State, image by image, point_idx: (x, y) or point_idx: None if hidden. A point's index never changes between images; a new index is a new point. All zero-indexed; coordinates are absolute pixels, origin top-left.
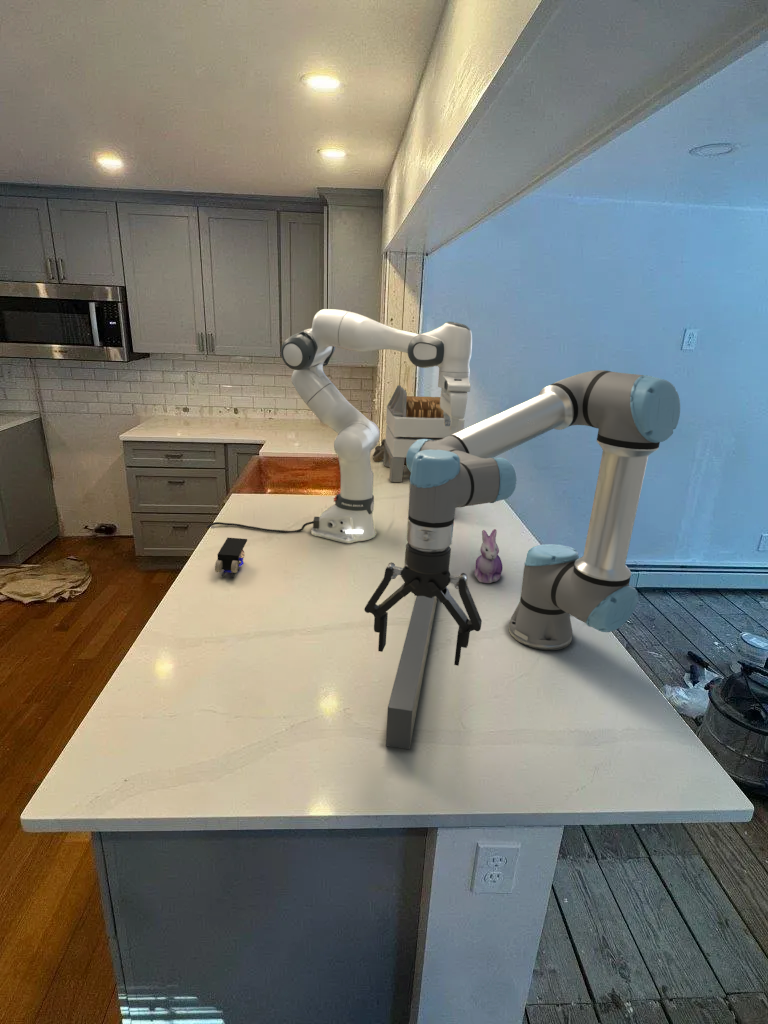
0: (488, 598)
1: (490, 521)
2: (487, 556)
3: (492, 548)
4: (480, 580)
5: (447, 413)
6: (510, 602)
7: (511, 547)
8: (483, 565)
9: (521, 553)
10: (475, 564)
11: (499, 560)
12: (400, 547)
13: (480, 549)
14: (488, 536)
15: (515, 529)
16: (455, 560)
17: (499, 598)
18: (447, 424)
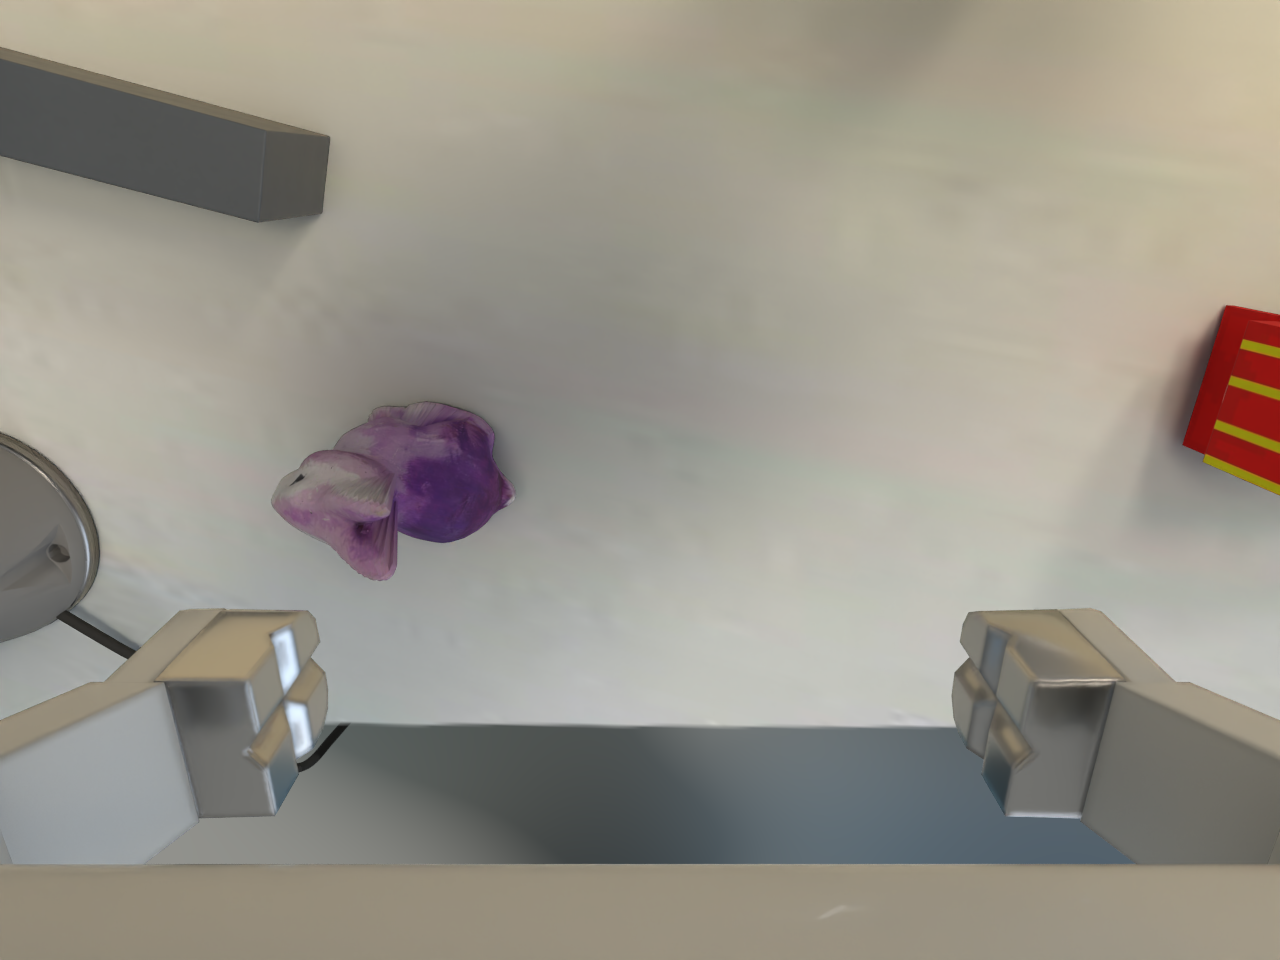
0: (228, 412)
1: None
2: (291, 472)
3: (282, 511)
4: (372, 415)
5: (49, 901)
6: (210, 491)
7: (760, 638)
8: (336, 444)
9: (692, 660)
10: (458, 421)
11: (401, 531)
12: (783, 53)
13: (338, 454)
14: (351, 521)
15: None
16: (608, 347)
17: (237, 457)
18: (985, 682)
